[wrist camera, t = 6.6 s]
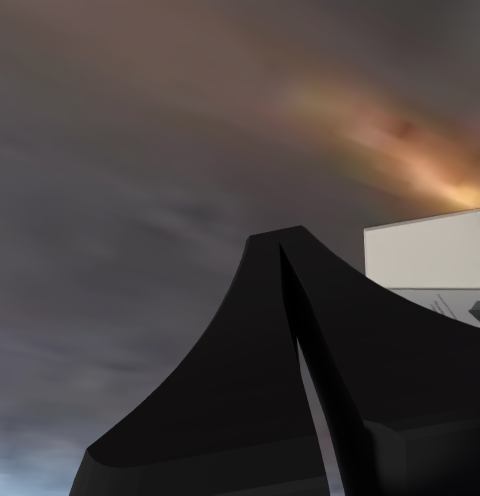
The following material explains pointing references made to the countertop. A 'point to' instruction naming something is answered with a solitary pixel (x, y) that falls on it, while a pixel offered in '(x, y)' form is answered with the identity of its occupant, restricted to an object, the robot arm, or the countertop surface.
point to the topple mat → (426, 253)
